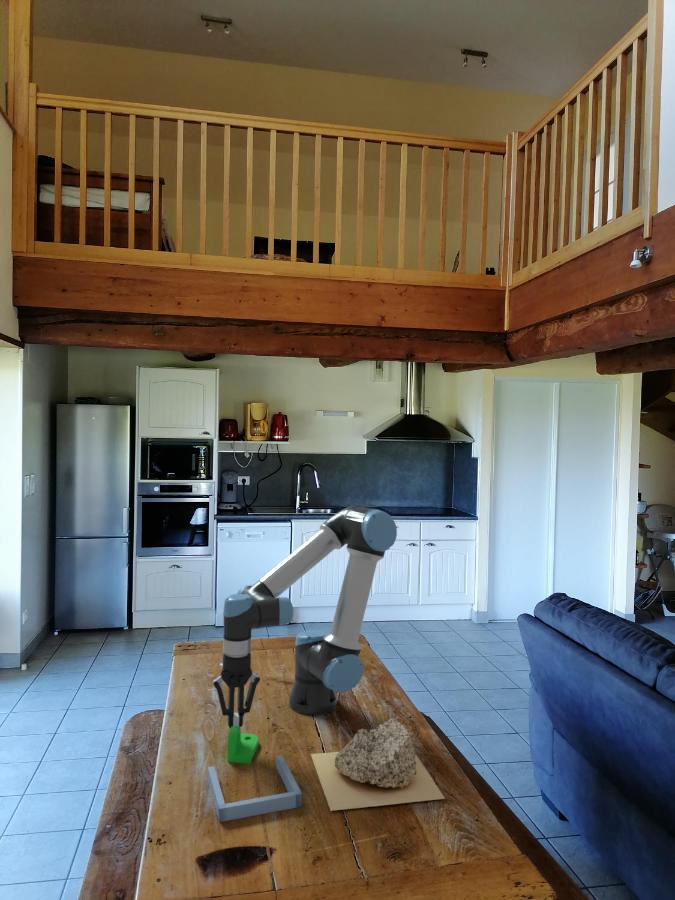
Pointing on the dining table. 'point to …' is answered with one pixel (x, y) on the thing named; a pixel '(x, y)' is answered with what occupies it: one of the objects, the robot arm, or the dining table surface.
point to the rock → (375, 770)
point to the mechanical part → (241, 746)
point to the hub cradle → (257, 804)
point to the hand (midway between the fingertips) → (235, 738)
